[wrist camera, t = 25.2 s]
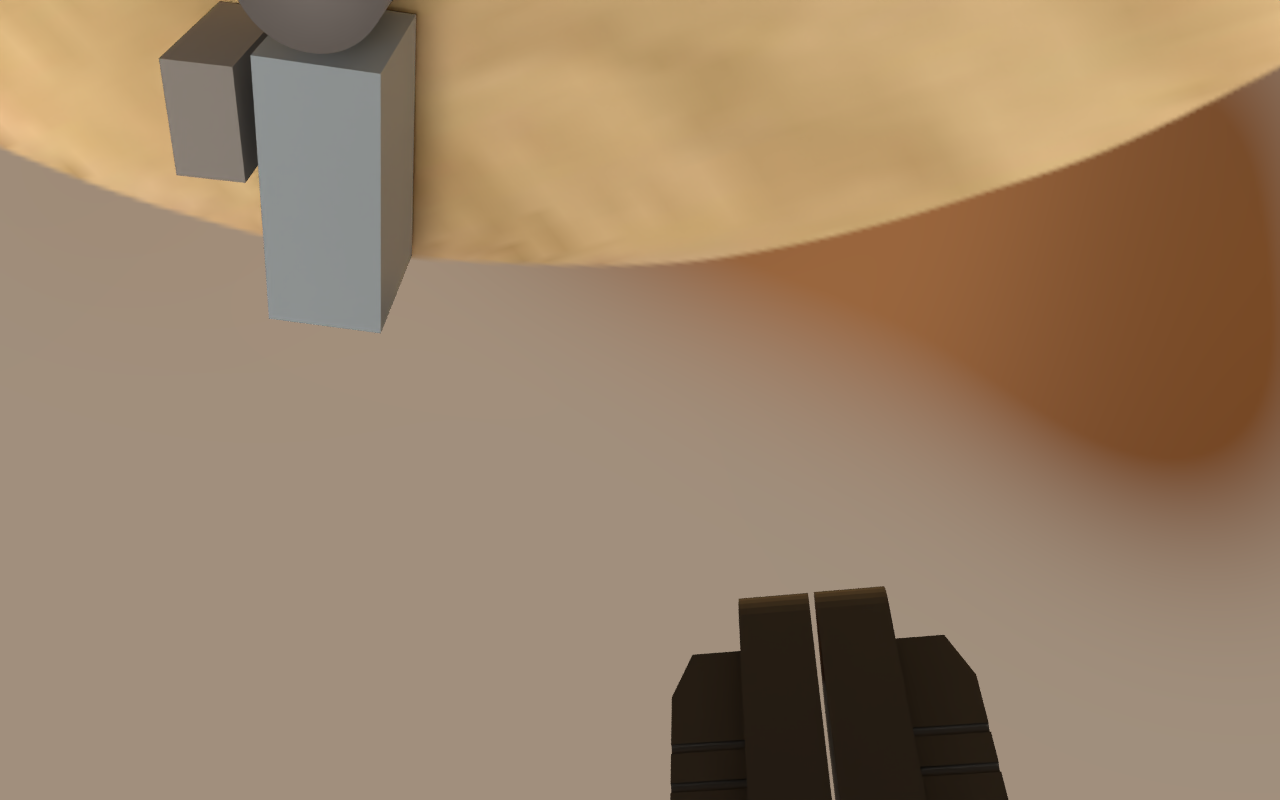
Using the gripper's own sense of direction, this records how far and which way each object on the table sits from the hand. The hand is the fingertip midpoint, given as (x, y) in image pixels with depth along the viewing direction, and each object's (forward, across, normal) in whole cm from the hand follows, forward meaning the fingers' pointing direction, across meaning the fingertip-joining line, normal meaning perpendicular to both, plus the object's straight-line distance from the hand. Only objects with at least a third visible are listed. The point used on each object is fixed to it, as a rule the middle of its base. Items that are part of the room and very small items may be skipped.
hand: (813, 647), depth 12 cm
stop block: (+27, +15, +1) cm, 31 cm away
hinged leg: (+27, +12, +2) cm, 29 cm away
